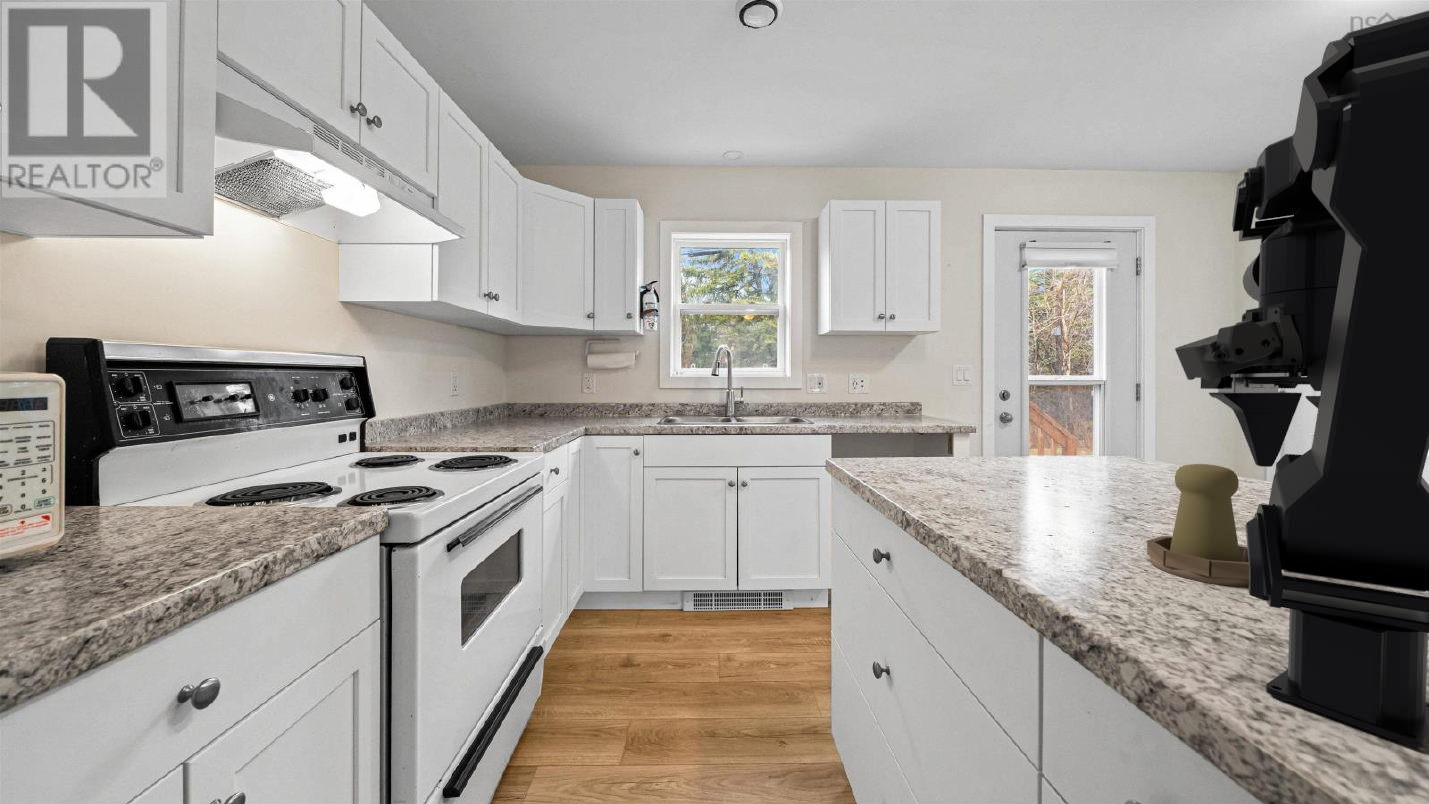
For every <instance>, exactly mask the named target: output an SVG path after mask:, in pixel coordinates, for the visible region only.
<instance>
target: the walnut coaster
mask: <svg viewBox="0 0 1429 804" xmlns="http://www.w3.org/2000/svg"><path fill="white" fill-rule="evenodd" d="M1172 537H1173V535H1172V536H1171V535H1164V536H1163V535H1161V536H1158V537H1155V538H1151V539H1148V540H1147V541H1146V555H1147V556H1149V557H1150V563H1151V565H1152V566H1154V568H1157V569H1158V570H1161V571H1162V572H1164V573H1165V572H1166V573H1168V574H1171V575H1174V576H1178V577H1181V578H1185V579H1187V580H1193V581H1196V582H1202V583H1207V584H1213V585H1219V586H1228V587H1229V586H1230V587H1242V588H1243V587H1245V588H1249V562H1248V549H1247V546H1245V545H1239V544H1238V546H1239V553H1240V559H1241V562H1234V561H1220V560H1209V559H1204V558H1200V557H1195V556H1191V555H1186V554H1182V553H1177V552H1173V551H1170V547H1171V542H1172Z"/></svg>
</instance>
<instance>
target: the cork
mask: <svg viewBox="0 0 1429 804" xmlns="http://www.w3.org/2000/svg"><path fill="white" fill-rule="evenodd" d="M1175 471H1176V472H1175V474H1174V483H1175V486H1176V488H1177V489H1178V490H1179V492H1180V496H1179V501H1178V507H1177V512H1176V517H1175V522H1174V527H1173V532H1172V536H1173V537H1172V542H1171V547H1170V551H1173V552H1177V553H1182V554H1186V555H1191V556H1195V557H1200V558H1204V559H1209V560H1220V561H1234V562H1241V559H1240V553H1239V546H1238V545H1239V541H1238V533H1237V527H1236V521H1235V516H1234V515H1235V514H1234V509H1233V502H1232V501H1233V500H1232V497H1233V496H1234V495H1236V493H1237V491H1238V489H1239V483H1240V482H1239V477H1238V475H1237V474H1236V472H1235V471H1234V470H1232V469H1230V468H1228V467H1225V466H1222V465H1221V466H1220V465H1215V464H1209V463H1208V464H1207V463H1206V464H1205V463H1194V464H1193V463H1192V464H1185V465H1182V466H1179V468H1177V470H1175Z"/></svg>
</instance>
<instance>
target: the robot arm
mask: <svg viewBox="0 0 1429 804" xmlns="http://www.w3.org/2000/svg"><path fill="white" fill-rule="evenodd" d="M1298 105H1299V106H1298V111H1297V116H1296V117H1297V118H1296V123H1295V124H1296V125H1295V129H1294V133H1293V134H1292V135H1290V136H1288V137H1285V138H1283V139H1280V140H1278V141H1275V142H1273V143H1270V144H1268V145H1267V146H1266V147H1265V148H1264V149H1263V151H1262V152H1261V153H1260V154H1259V156H1258V158H1257V161H1256V166H1255V167H1249V168H1247V170H1246V171H1245V172H1243V179H1242V180H1241V181H1239V182H1238V183H1237V185H1236V192H1235V198H1234V199H1235V200H1234V207H1233V215H1232V223H1231V225H1232V226H1231V227H1232V233H1233V232H1238V242H1247V241H1255V240H1260V244H1259V253H1258V254H1257V256H1256V257H1255V258H1254V259H1253V260H1252V261H1251V262H1250V264H1249V265H1248V266H1247V267H1246V269H1245V272H1244V273H1243V276H1242V285H1243V289H1244V291H1245V292H1246V294H1247V295H1248V296H1249V297H1251V299H1253V300H1255V301H1257V302H1258V307H1257V308H1256V307H1255V308H1251V309H1245V312H1244V313H1242V315H1241V321H1239V322H1236V323H1235V324H1233V325H1230V326H1225V327H1220V328H1219V329H1218V331H1217V334H1214V335H1211V336H1208V337H1205V338H1202V339H1197V340H1196V341H1192V342H1189V343H1186V344H1183V345H1180V346H1178V347H1175V348H1174V351H1175V353H1176V355H1177V357H1178V360H1179V363H1180V364H1181V365H1180V366H1181V368H1182V370H1183V371H1184V374H1185V377H1186V378H1187V380H1189V381H1192V380H1195V379H1197V378H1198V379H1199V378H1200V389H1205V390H1207V389H1208V390H1209V389H1210V390H1218V391H1217V392H1208V395H1209V396H1210V397H1211V398H1213V399H1214V398H1215V399H1216V400H1218V401H1220V402H1221V403H1222V404H1224V405H1225V406H1227V407H1228V408H1230V409H1231V410H1232V411H1233V412H1234V414H1235V417H1236V419H1237V421H1238V423H1239V426H1240V428H1241V431H1242V432H1243V435H1244V438H1245V440H1246V443H1247V446H1248V447H1249V451H1250V453H1251V456H1252V458H1253V461H1254V464H1255V465H1256V466H1258V467H1261V468H1262V467H1263V468H1264V467H1267V468H1269V467H1270V468H1271V467H1273V465H1274V464H1275V463H1276V464H1275V472H1274V475H1273V479H1272V483H1271V490H1270V494H1269V500H1268V504H1264V503H1259V504H1258V505H1257V509H1256V512H1255V513H1254V515H1253V518H1252V519H1250V520H1248V521H1247V522H1246V523H1245V535H1246V547H1247V549H1248V562H1249V587H1248V594H1249V596H1252V597H1254V598H1256V599H1259V600H1262V601H1266V603H1267V605H1268V606H1269V608H1276V609H1282V608H1283V609H1289V622H1288V656H1287V658H1288V663H1287V664H1288V665H1287V669H1286V670H1285V671H1283V672H1282V673H1280V674H1279V675H1277V676H1276V677H1274V678H1273V679H1271V680H1270V681H1268V682H1267V683H1266V684H1265V692H1266V693H1267V694H1269V695H1271V696H1273V697H1275V698H1279V699H1281V700H1284V701H1286V702H1289V703H1292V704H1294V705H1298V706H1301V707H1303V708H1306V709H1308V710H1312V711H1315V712H1317V713H1319V714H1322V715H1325V716H1328V717H1331V718H1333V719H1336V720H1339V721H1342V722H1344V723H1347V724H1349V725H1352V726H1355V727H1357V728H1360V729H1363V730H1367V731H1369V732H1372V733H1373V734H1377V735H1379V736H1382V737H1385V738H1388V739H1391V740H1394V741H1396V742H1400V743H1401V744H1405V745H1407V746H1411V747H1414V748H1421V749H1422V748H1424V747H1425V746H1426V744H1428V742H1429V701H1427V686H1428V685H1427V683H1428V681H1427V679H1428V678H1427V677H1428V654H1429V653H1428V651H1429V650H1428V649H1429V596H1426V595H1418V594H1410V593H1405V592H1397V591H1391V590H1384V589H1378V588H1370V587H1364V586H1358V585H1357V586H1356V585H1351V584H1343V583H1337V582H1332V581H1331V582H1330V581H1322V580H1318V579H1311V578H1303V577H1296V576H1290V575H1285V574H1283V572H1284V573H1286V574H1294V575H1301V576H1308V577H1314V578H1322V579H1327V580H1328V579H1329V580H1334V581H1342V582H1349V583H1354V584H1355V583H1357V584H1360V585H1361V584H1362V585H1369V586H1376V587H1383V588H1390V589H1395V590H1396V589H1398V590H1404V591H1410V592H1417V593H1419V592H1420V593H1422V592H1425V593H1426V592H1428V593H1429V483H1428V482H1427V481H1426V480H1425V478H1424V477H1423V473H1424V469H1425V465H1426V461H1427V456H1428V452H1429V10H1426V11H1422V12H1419V13H1415V14H1411V15H1410V14H1409V15H1407V16H1403V17H1400V18H1396V19H1393V20H1389V21H1385V22H1382V23H1377V24H1374V25H1372V26H1371V25H1370V26H1367V27H1365V28H1360V29H1357V30H1352V31H1349V32H1347V33H1346V34H1344V35H1343V37H1342V38H1340V39H1336V40H1333V41H1329V43H1328V44H1327V45H1326V46H1325V48H1324V52H1323V56H1322V61H1321V62H1320V65H1319V66H1318V67H1317V68H1315V69H1314V70H1313V71H1312V72H1310V73H1309V74H1308V75H1307V76H1305V77H1304V79H1303V80H1302V86H1301V93H1300V99H1299V104H1298ZM1254 216H1255V217H1254ZM1254 218H1255V219H1256V221H1254V227H1252V225H1253V220H1254ZM1298 385H1309V386H1310V387H1311V389H1313V391H1314V392H1320V395H1305V399H1306V400H1308V402H1310V403H1311V404H1312V405H1314V407H1316V408H1317V414H1316V420H1315V421H1316V422H1315V425H1314V426H1315V427H1314V431H1313V432H1314V433H1313V439H1312V443H1311V448H1310V449H1309V450H1307V451H1306V452H1304V453H1303V454H1294V453H1292V454H1291V453H1285V454H1284V455H1282V457H1281V458H1280V459H1279V460H1278V461H1277V462H1276V460H1277V458H1278V456H1279V454H1280V452H1281V450H1282V447H1283V444H1284V441H1285V439H1286V437H1287V433H1288V432H1289V429H1290V426H1291V423H1292V421H1293V418H1294V415H1295V413H1296V411H1297V408H1298V406H1299V403H1300V401H1301V398H1302V394H1303V393H1302V392H1287V391H1283V392H1282V391H1279V389H1296V388H1297V386H1298Z"/></svg>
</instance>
